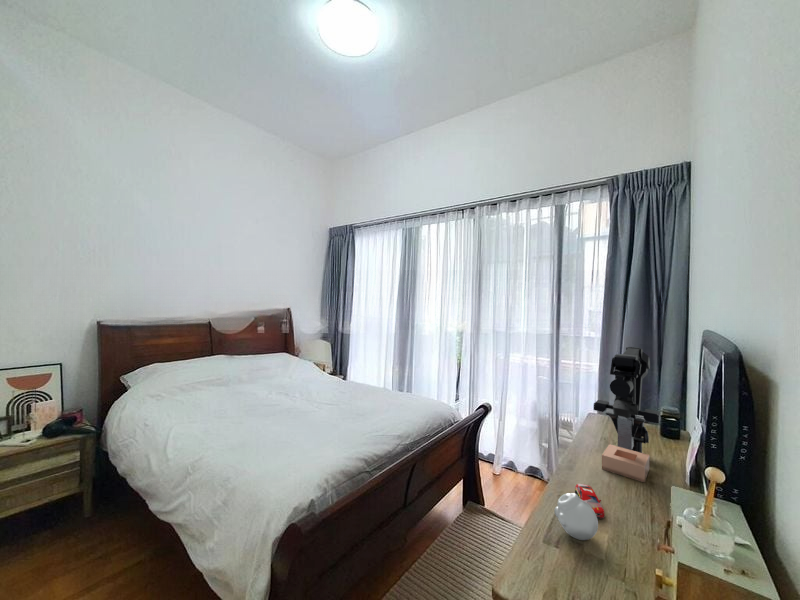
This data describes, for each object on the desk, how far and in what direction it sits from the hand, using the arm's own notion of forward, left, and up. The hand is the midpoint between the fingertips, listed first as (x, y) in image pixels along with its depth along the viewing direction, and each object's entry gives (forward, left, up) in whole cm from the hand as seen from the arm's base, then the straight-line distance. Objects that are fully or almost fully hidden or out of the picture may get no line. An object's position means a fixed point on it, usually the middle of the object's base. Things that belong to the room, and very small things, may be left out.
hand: (625, 435), depth 111 cm
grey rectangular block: (0, 0, -4) cm, 4 cm away
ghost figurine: (+48, -3, -12) cm, 50 cm away
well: (0, 0, -12) cm, 12 cm away
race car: (+32, -4, -13) cm, 35 cm away
